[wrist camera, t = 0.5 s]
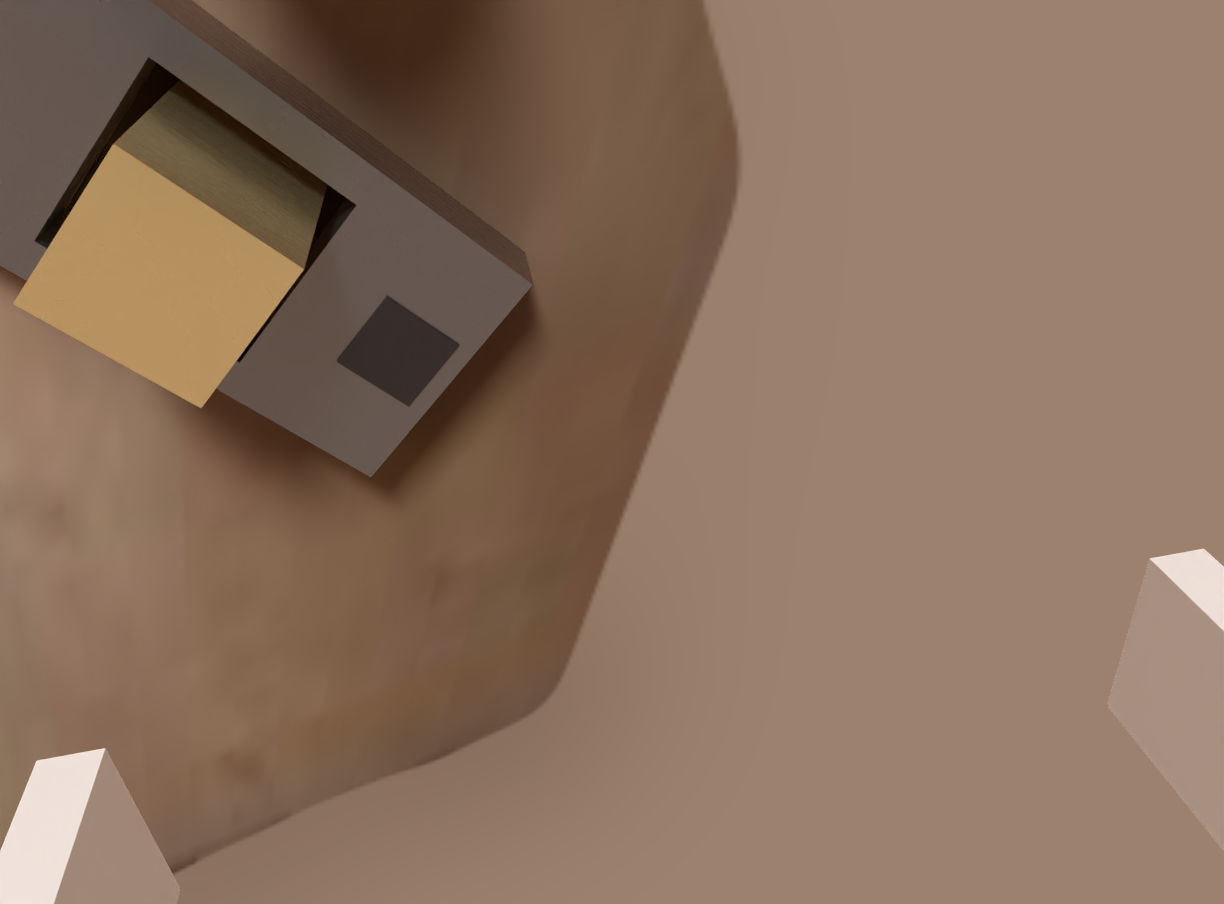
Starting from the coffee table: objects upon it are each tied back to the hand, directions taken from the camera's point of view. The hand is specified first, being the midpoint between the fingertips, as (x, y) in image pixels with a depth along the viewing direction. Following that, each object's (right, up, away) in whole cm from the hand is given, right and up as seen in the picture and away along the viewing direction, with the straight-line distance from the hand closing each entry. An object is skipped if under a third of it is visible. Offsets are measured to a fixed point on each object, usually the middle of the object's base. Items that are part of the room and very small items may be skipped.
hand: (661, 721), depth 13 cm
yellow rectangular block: (-13, +12, +19) cm, 26 cm away
